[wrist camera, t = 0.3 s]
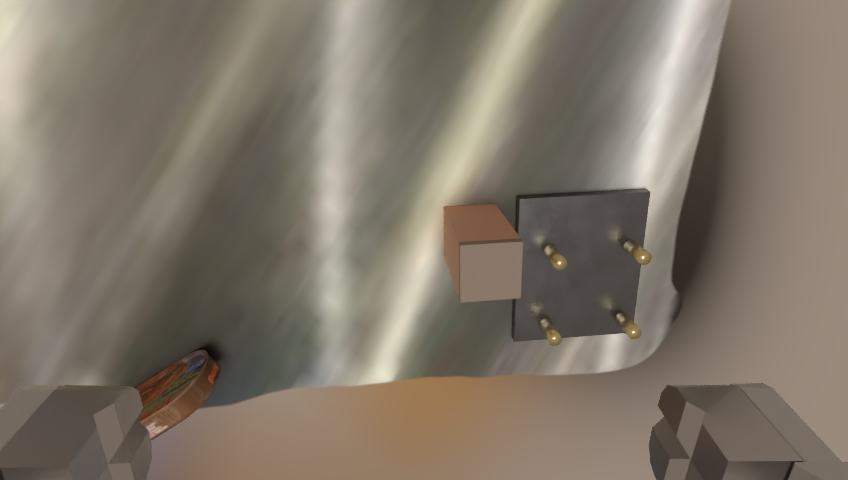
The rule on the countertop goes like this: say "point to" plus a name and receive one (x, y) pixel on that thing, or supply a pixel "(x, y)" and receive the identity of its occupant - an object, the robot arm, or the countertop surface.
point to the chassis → (580, 263)
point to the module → (482, 253)
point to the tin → (177, 392)
